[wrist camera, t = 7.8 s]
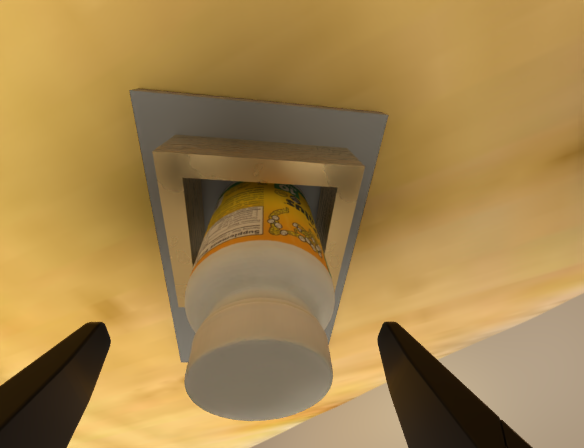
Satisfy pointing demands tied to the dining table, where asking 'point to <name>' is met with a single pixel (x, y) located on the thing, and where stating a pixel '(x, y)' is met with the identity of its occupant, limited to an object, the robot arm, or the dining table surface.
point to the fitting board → (257, 127)
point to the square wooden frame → (251, 168)
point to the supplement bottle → (259, 307)
